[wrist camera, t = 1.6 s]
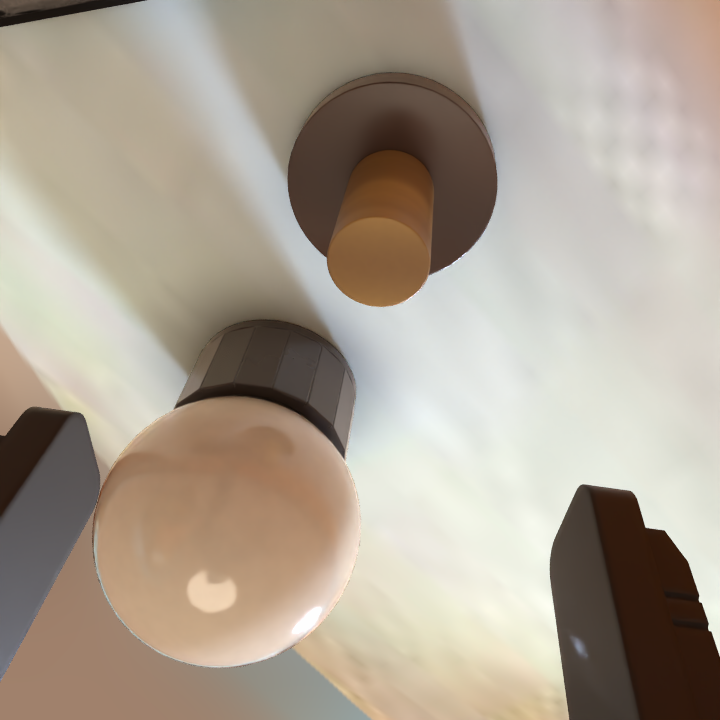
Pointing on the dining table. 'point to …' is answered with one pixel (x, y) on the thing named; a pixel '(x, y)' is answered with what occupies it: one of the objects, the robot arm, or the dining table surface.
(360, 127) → the knob on round base
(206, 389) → the stand
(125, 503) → the ball
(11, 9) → the phone
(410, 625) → the dining table surface
